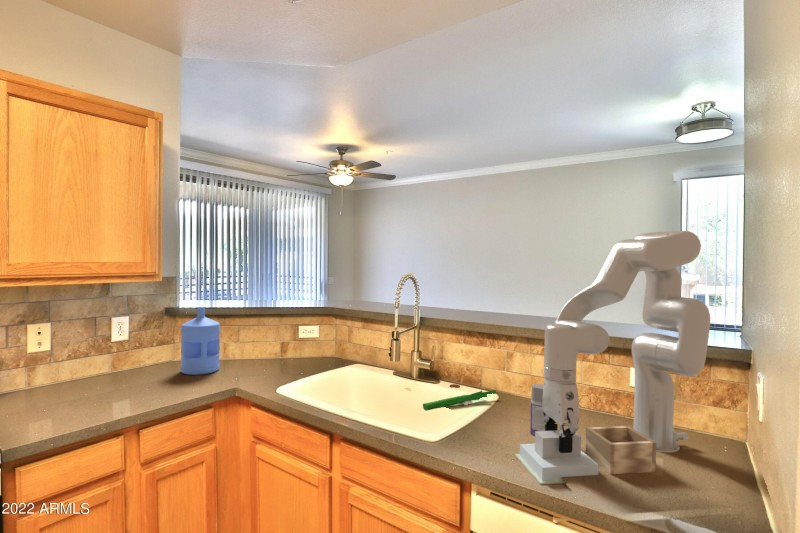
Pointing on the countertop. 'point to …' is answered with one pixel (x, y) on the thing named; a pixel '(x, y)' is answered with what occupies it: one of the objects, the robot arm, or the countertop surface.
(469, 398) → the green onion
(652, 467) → the box
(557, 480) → the mat
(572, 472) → the lid
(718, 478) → the countertop surface
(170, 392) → the countertop surface
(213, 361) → the water jug
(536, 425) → the container
